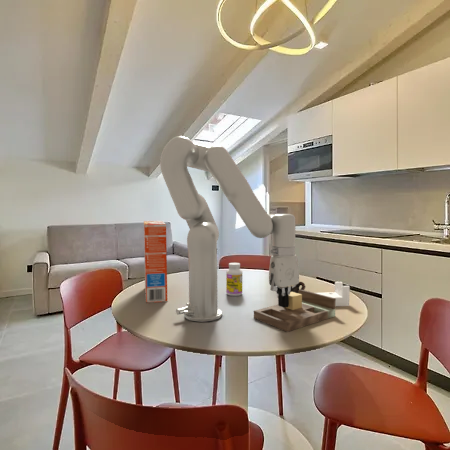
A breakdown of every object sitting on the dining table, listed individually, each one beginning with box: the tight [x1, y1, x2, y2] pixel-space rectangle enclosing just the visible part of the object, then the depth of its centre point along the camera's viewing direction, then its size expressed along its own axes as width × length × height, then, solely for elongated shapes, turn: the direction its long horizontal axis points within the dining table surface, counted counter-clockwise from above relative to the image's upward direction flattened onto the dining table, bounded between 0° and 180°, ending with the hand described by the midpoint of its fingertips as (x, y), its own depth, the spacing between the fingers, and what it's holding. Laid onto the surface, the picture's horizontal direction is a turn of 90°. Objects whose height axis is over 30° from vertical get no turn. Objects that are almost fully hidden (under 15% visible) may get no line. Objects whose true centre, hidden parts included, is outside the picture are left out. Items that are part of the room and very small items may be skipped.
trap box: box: [253, 288, 336, 333], centre depth 115 cm, size 23×15×6 cm, turn 126°
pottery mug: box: [280, 281, 306, 293], centre depth 141 cm, size 12×10×8 cm
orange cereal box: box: [143, 220, 168, 303], centre depth 143 cm, size 23×8×30 cm, turn 14°
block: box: [285, 292, 302, 310], centre depth 117 cm, size 4×4×4 cm
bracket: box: [316, 281, 351, 307], centre depth 130 cm, size 13×7×8 cm, turn 95°
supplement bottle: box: [225, 262, 243, 297], centre depth 143 cm, size 7×7×13 cm
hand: (283, 306), depth 115 cm, fingers closed
